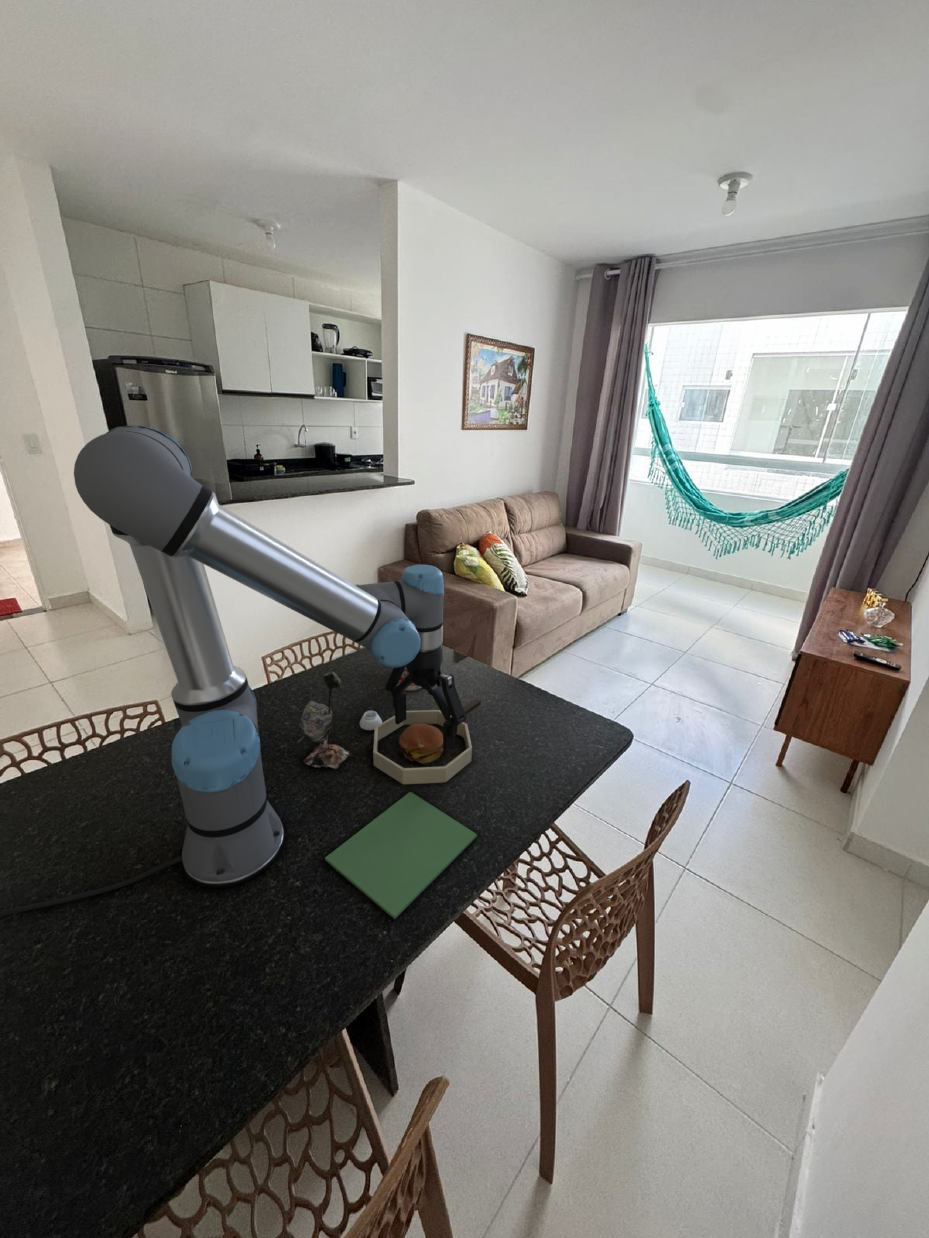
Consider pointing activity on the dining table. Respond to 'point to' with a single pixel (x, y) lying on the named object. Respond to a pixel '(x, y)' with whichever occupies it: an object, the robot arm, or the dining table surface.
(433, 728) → the burger
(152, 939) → the dining table surface
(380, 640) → the robot arm
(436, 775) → the pan
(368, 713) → the white upturned bowl
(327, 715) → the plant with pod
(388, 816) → the napkin mat
